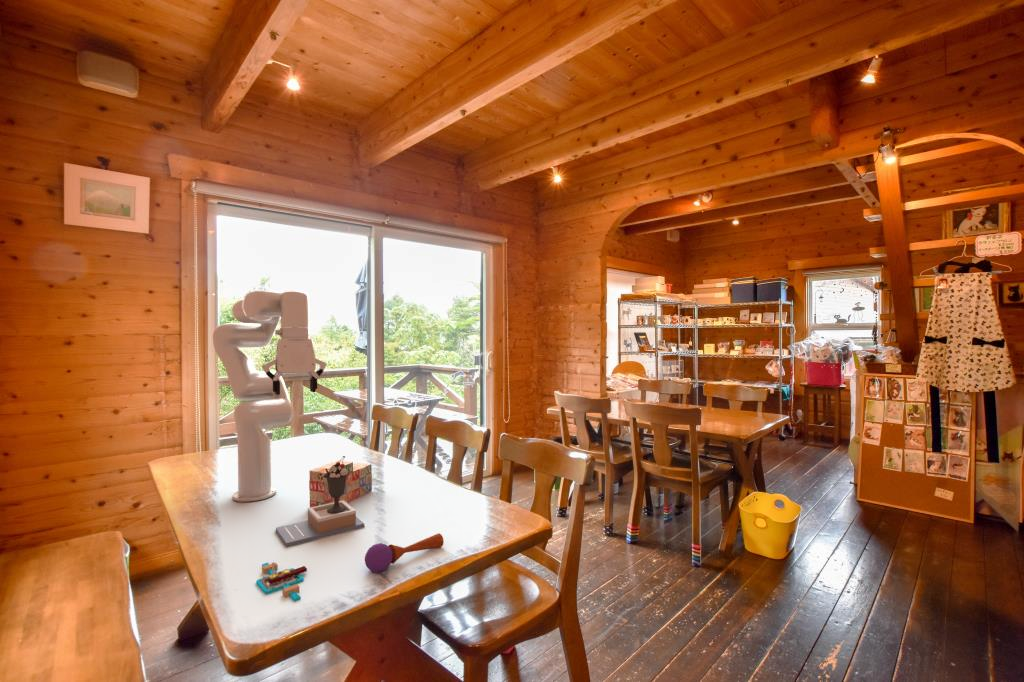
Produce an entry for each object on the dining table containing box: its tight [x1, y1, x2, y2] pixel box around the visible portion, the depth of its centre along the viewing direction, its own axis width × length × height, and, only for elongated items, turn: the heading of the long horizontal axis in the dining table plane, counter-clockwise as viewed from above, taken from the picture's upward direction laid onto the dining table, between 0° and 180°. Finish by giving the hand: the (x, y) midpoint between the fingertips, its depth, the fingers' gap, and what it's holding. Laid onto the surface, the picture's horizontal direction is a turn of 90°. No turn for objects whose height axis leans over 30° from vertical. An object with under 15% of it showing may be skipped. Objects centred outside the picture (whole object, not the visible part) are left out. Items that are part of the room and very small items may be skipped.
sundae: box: [323, 455, 349, 513], centre depth 133 cm, size 7×7×15 cm
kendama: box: [364, 533, 444, 573], centre depth 113 cm, size 6×6×20 cm
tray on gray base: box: [275, 500, 365, 548], centre depth 130 cm, size 12×20×5 cm, turn 128°
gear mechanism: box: [255, 561, 308, 602], centre depth 103 cm, size 20×5×9 cm
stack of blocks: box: [308, 459, 373, 508], centre depth 153 cm, size 21×6×12 cm, turn 157°
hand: (295, 393), depth 138 cm, fingers open, 9 cm apart
